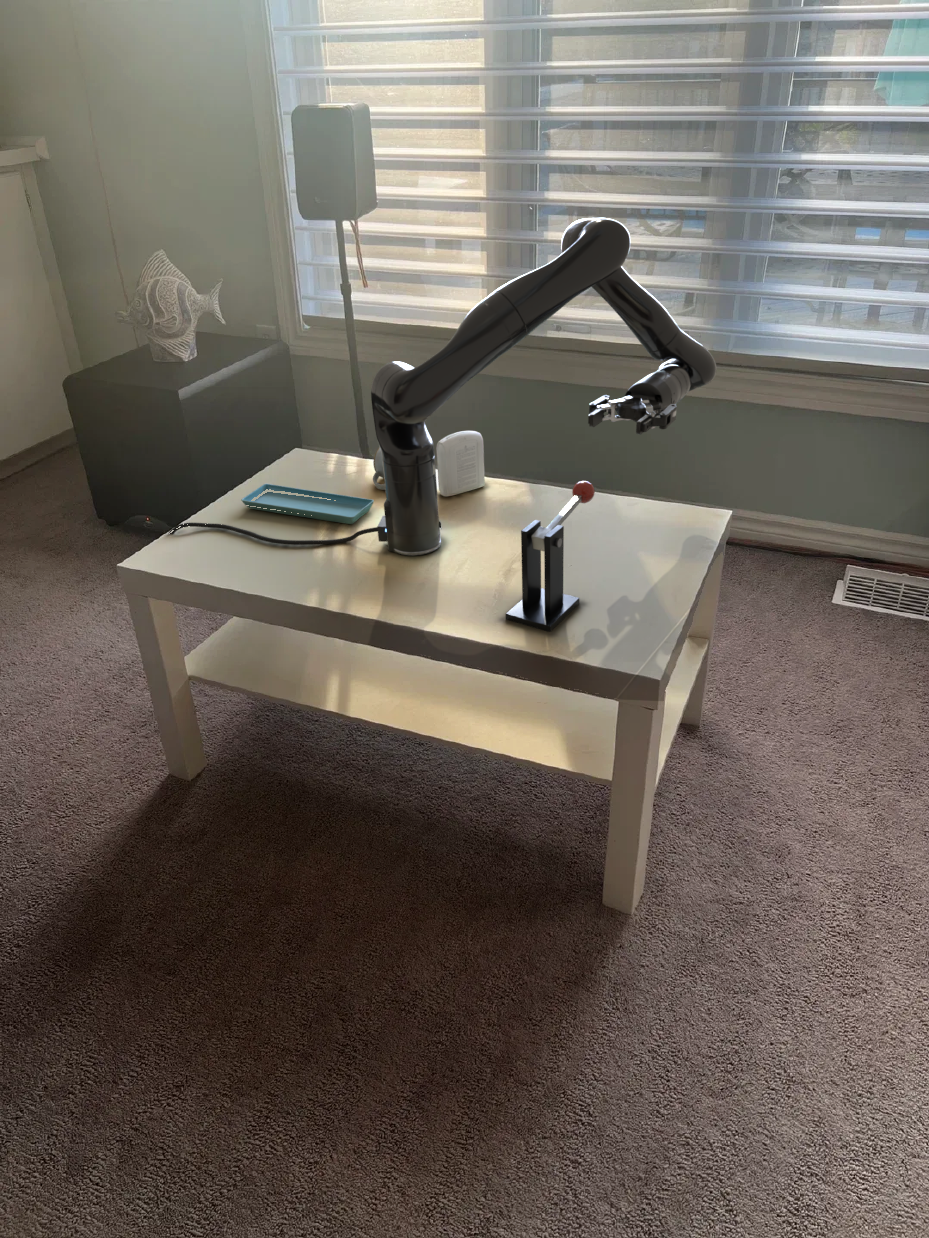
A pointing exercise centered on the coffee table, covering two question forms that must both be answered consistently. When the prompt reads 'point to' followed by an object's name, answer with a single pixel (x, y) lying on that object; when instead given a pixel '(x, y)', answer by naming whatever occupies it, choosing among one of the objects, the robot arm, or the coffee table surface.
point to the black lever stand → (536, 602)
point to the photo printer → (460, 462)
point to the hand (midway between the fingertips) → (614, 425)
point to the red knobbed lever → (564, 512)
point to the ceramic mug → (378, 469)
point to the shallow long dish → (309, 504)
